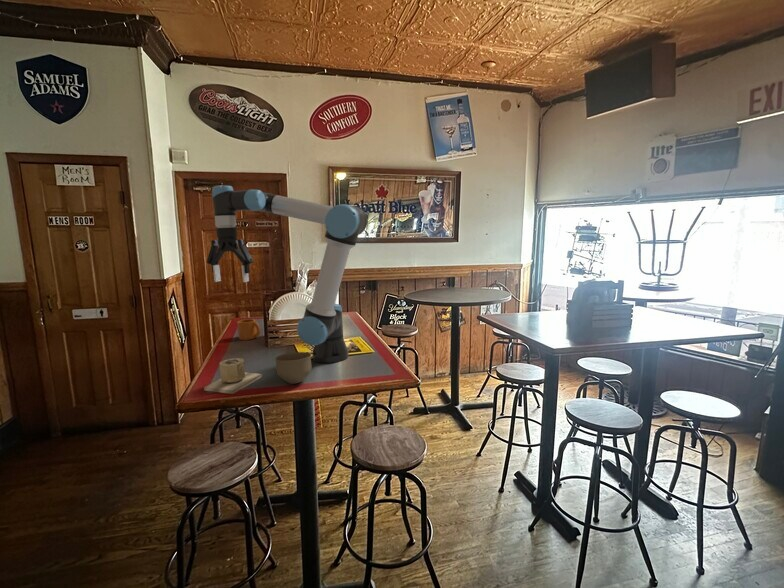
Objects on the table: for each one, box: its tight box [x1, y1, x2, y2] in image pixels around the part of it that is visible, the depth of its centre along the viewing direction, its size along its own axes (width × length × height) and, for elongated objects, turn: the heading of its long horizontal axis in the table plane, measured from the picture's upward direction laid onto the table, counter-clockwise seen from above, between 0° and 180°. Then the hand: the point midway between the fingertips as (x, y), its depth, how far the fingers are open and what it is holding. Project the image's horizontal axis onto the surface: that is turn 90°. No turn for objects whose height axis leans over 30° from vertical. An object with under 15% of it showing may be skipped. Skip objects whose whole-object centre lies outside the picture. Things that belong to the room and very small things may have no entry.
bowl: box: [274, 351, 313, 385], centre depth 147 cm, size 13×13×10 cm
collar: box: [219, 357, 246, 382], centre depth 147 cm, size 8×8×6 cm
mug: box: [236, 318, 261, 341], centre depth 209 cm, size 9×12×9 cm
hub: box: [203, 360, 263, 395], centre depth 147 cm, size 12×16×8 cm
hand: (231, 281), depth 162 cm, fingers open, 13 cm apart
